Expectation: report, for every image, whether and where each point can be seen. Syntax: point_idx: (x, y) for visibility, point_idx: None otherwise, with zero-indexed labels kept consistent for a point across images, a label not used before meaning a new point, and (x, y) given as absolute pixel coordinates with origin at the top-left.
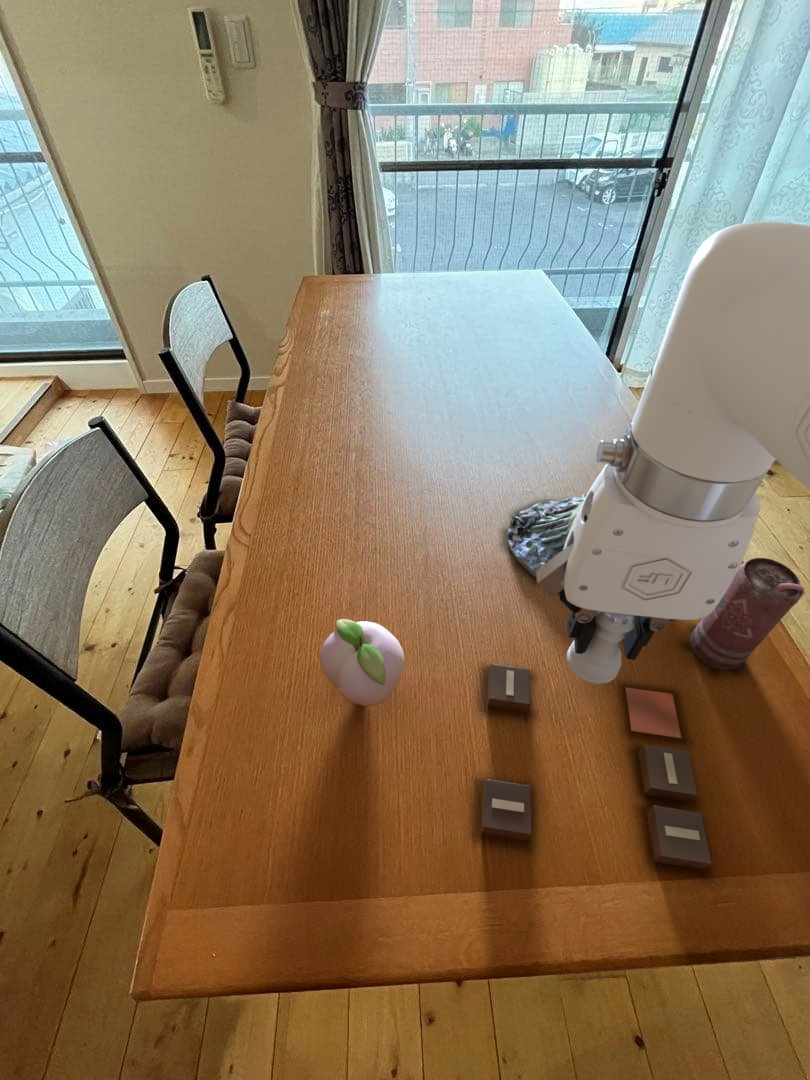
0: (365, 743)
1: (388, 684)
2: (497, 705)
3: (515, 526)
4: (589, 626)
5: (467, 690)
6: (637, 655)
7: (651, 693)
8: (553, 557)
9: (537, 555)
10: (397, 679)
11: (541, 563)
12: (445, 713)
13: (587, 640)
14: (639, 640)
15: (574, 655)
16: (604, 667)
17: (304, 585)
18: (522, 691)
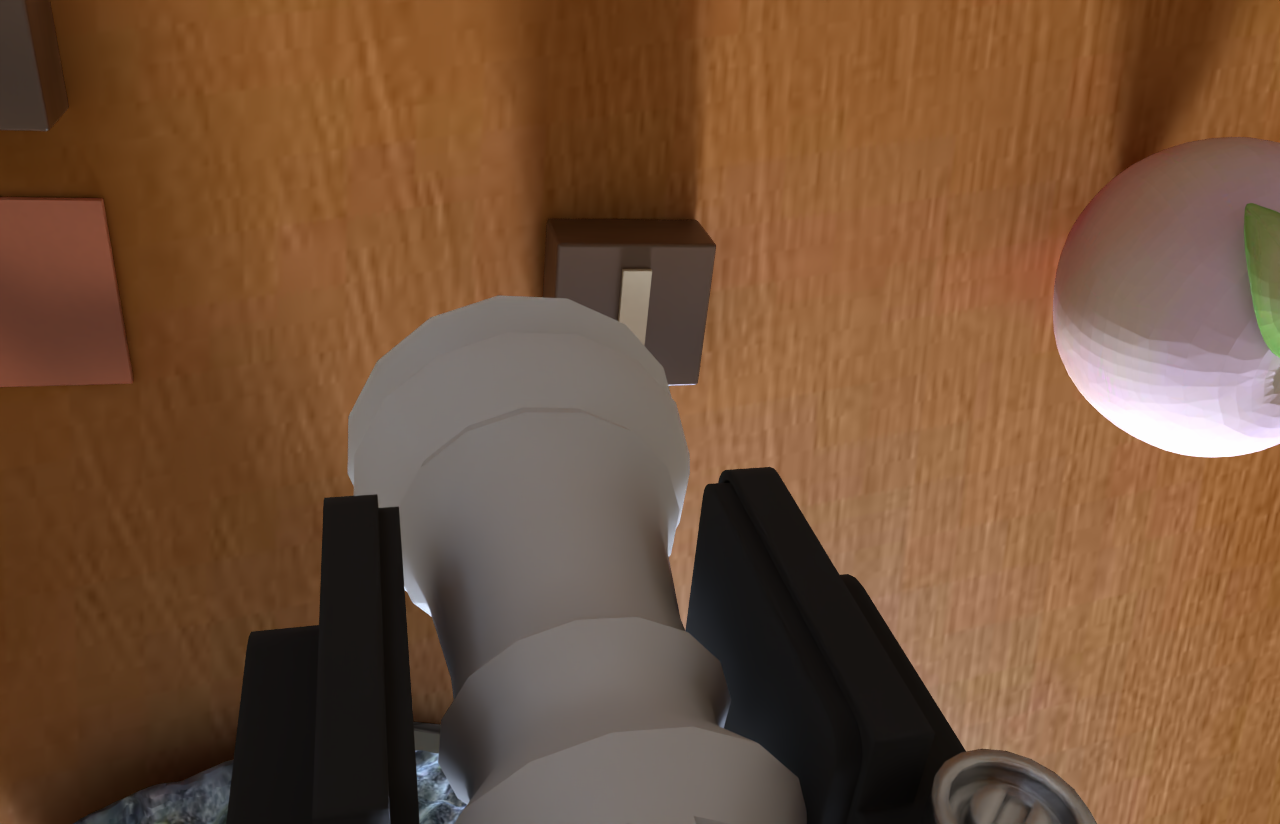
0: (1138, 20)
1: (1185, 220)
2: (667, 227)
3: None
4: (917, 735)
5: (762, 273)
6: (323, 540)
7: (15, 376)
8: (428, 819)
9: None
10: (1127, 250)
11: None
12: (850, 173)
13: (804, 587)
14: (381, 696)
15: (683, 454)
16: (510, 405)
17: (1234, 541)
18: (584, 293)
